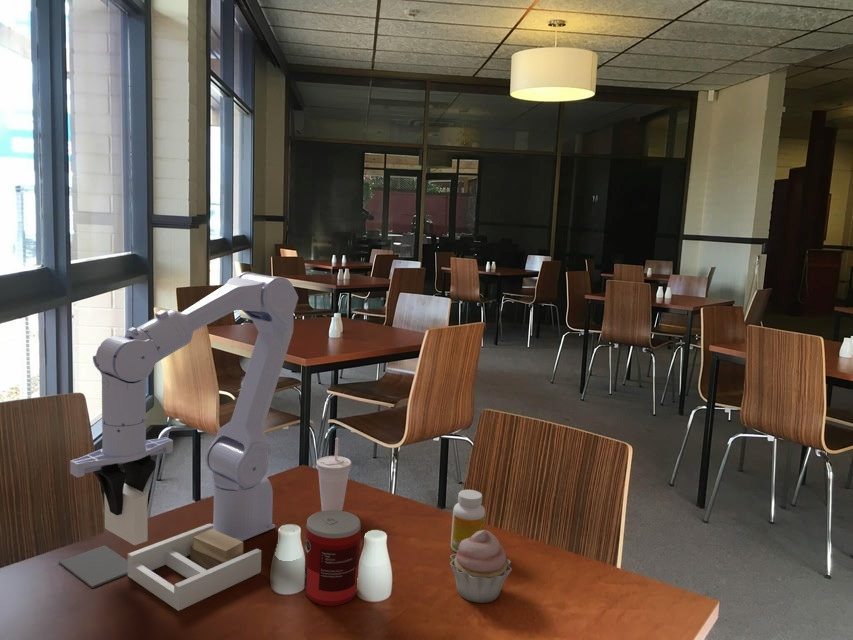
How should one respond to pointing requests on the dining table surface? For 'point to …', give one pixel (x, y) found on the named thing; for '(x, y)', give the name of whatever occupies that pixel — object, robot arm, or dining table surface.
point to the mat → (97, 566)
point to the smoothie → (333, 480)
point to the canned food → (332, 557)
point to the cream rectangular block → (129, 517)
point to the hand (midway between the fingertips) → (124, 510)
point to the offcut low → (203, 559)
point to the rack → (188, 570)
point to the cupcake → (480, 567)
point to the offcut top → (218, 545)
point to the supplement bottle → (467, 517)
